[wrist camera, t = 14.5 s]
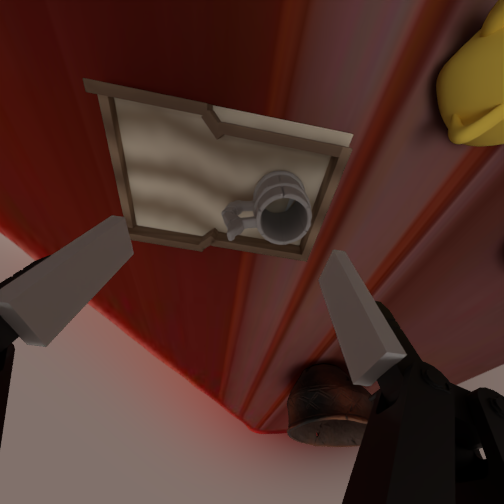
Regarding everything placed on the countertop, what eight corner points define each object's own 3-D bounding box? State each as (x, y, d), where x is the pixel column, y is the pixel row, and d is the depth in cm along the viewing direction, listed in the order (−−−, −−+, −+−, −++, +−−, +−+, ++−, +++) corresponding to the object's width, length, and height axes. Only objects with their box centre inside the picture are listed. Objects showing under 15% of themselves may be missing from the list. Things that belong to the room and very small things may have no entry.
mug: (304, 214, 32) (322, 256, 22) (233, 223, 33) (220, 266, 23) (303, 164, 28) (325, 187, 18) (222, 177, 29) (201, 205, 19)
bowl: (293, 394, 71) (300, 452, 59) (273, 359, 59) (275, 424, 46) (366, 386, 66) (391, 449, 53) (360, 346, 53) (390, 416, 41)
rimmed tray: (107, 83, 25) (82, 77, 21) (350, 133, 26) (363, 135, 23) (134, 227, 36) (121, 238, 33) (303, 255, 38) (307, 268, 34)
